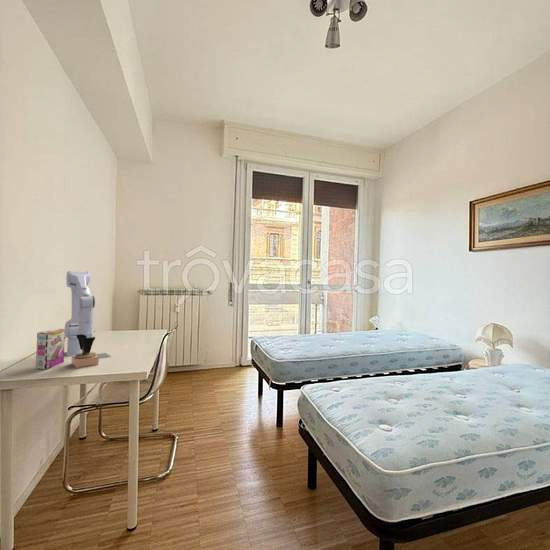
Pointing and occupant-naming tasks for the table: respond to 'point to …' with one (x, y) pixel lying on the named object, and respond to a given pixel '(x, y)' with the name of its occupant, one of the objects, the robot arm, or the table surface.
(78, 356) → the lid
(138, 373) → the table surface
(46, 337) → the candy bar box
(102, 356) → the mat
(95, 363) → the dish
